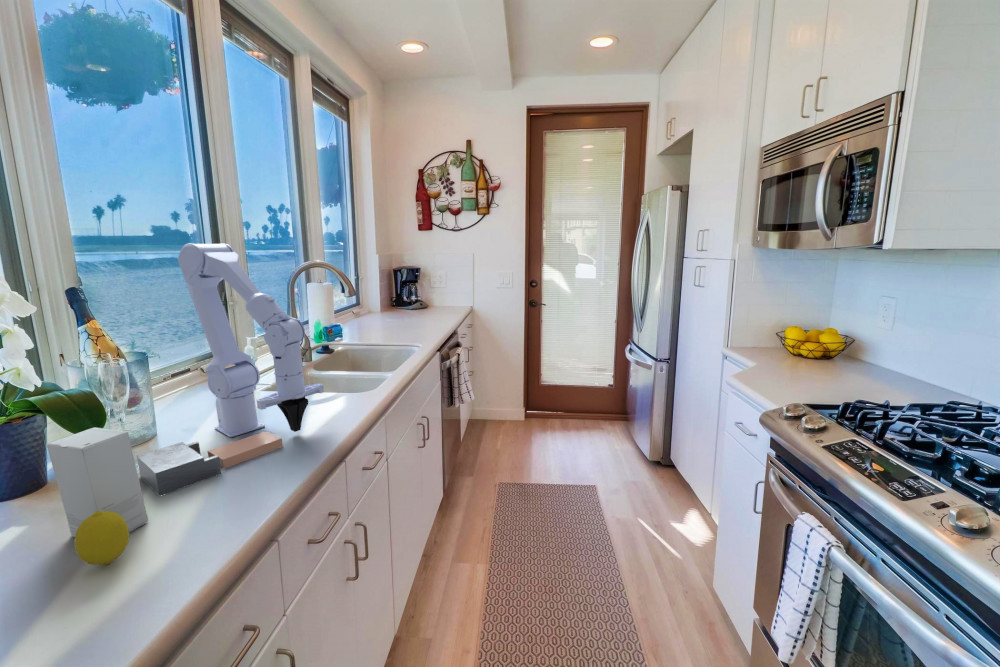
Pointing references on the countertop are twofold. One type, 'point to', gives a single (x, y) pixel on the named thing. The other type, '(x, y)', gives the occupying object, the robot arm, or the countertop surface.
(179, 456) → the low gray notched block
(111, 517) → the lemon
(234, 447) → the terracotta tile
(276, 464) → the countertop surface
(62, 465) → the skincare box
